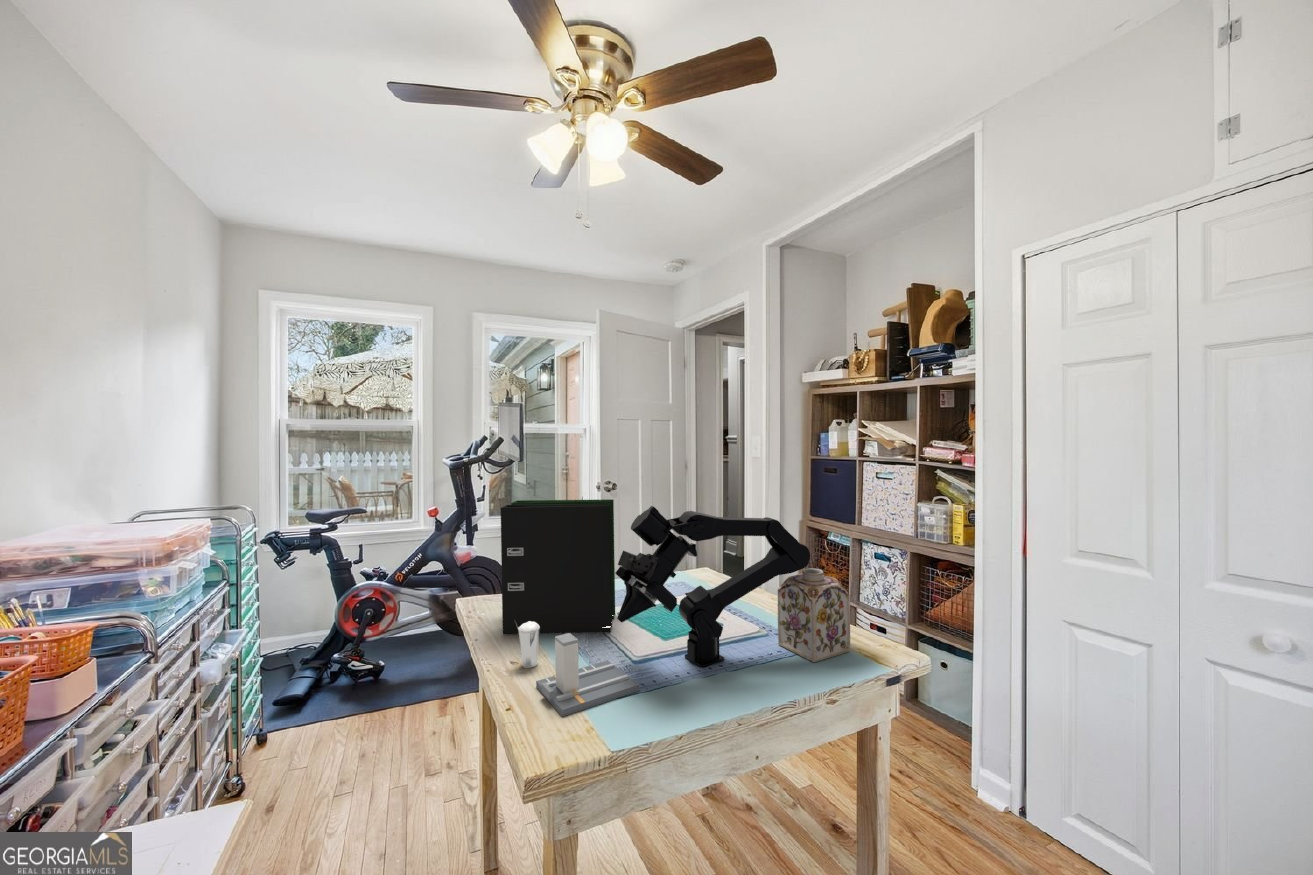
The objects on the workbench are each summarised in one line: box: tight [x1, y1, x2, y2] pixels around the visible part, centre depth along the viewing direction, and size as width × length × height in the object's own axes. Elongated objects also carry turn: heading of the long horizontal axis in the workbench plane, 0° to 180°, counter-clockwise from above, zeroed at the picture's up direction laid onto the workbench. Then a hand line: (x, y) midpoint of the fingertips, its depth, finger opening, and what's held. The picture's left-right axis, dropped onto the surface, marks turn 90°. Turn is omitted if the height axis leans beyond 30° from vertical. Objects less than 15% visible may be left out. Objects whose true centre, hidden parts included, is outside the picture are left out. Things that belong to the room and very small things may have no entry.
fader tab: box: [554, 633, 580, 694], centre depth 98 cm, size 3×4×10 cm
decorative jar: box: [777, 568, 851, 663], centre depth 117 cm, size 12×12×18 cm
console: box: [535, 660, 640, 717], centre depth 100 cm, size 17×13×3 cm
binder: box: [500, 499, 616, 636], centre depth 135 cm, size 27×15×32 cm, turn 89°
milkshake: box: [514, 620, 540, 669], centre depth 111 cm, size 4×5×10 cm
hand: (619, 620), depth 105 cm, fingers closed
